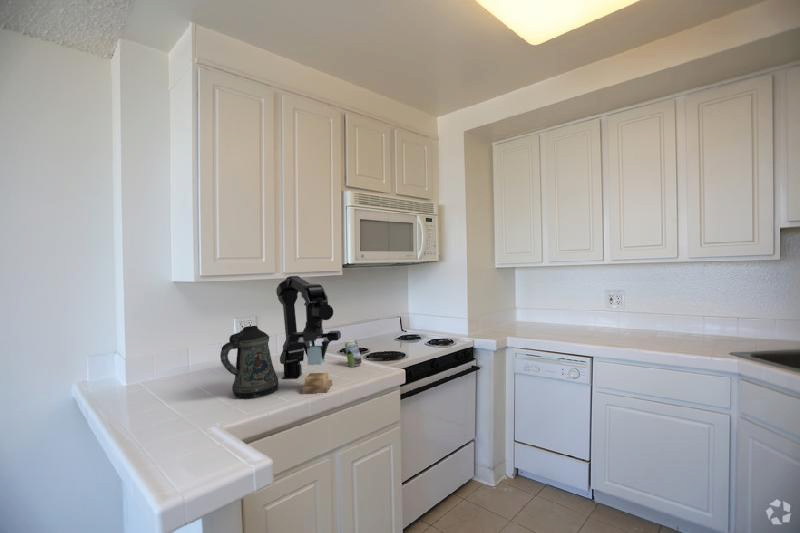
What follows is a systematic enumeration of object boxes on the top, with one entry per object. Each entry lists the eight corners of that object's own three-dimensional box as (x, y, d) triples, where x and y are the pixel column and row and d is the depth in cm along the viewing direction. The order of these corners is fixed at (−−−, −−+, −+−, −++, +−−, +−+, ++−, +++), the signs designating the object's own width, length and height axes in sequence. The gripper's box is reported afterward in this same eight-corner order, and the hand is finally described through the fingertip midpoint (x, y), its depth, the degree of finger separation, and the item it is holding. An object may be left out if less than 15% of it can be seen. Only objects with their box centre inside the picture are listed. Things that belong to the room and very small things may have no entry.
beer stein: (287, 385, 150) (284, 322, 150) (256, 403, 132) (252, 332, 131) (251, 384, 155) (248, 323, 155) (216, 401, 136) (213, 331, 136)
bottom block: (302, 395, 139) (302, 387, 139) (309, 387, 148) (309, 380, 148) (326, 395, 139) (326, 387, 139) (332, 387, 148) (332, 379, 148)
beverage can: (360, 367, 172) (359, 341, 172) (344, 368, 172) (343, 341, 172) (362, 363, 178) (361, 338, 178) (346, 364, 178) (345, 339, 178)
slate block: (307, 364, 141) (307, 348, 141) (311, 361, 146) (311, 345, 146) (321, 364, 141) (320, 348, 141) (324, 361, 146) (323, 345, 146)
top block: (304, 386, 140) (304, 378, 140) (310, 380, 147) (310, 373, 147) (323, 386, 140) (323, 378, 140) (328, 380, 147) (328, 372, 147)
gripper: (282, 322, 136) (284, 365, 136) (333, 320, 135) (335, 363, 135) (292, 317, 147) (294, 357, 147) (340, 315, 146) (342, 356, 146)
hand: (316, 358), depth 144 cm, fingers closed on slate block, 5 cm apart
